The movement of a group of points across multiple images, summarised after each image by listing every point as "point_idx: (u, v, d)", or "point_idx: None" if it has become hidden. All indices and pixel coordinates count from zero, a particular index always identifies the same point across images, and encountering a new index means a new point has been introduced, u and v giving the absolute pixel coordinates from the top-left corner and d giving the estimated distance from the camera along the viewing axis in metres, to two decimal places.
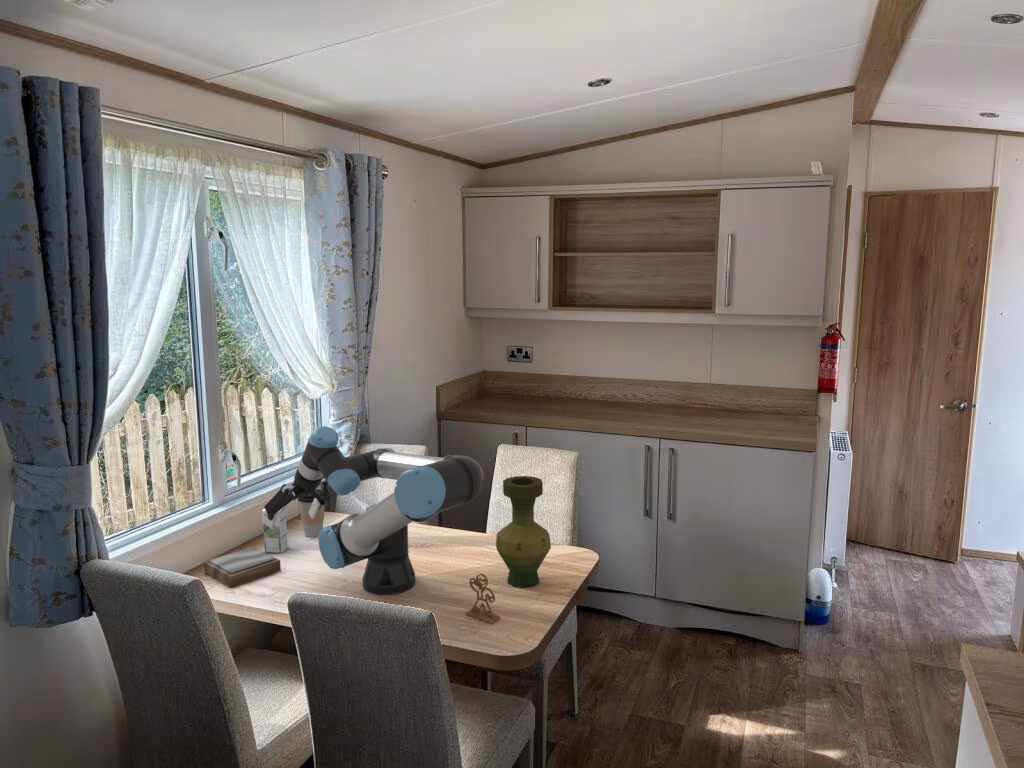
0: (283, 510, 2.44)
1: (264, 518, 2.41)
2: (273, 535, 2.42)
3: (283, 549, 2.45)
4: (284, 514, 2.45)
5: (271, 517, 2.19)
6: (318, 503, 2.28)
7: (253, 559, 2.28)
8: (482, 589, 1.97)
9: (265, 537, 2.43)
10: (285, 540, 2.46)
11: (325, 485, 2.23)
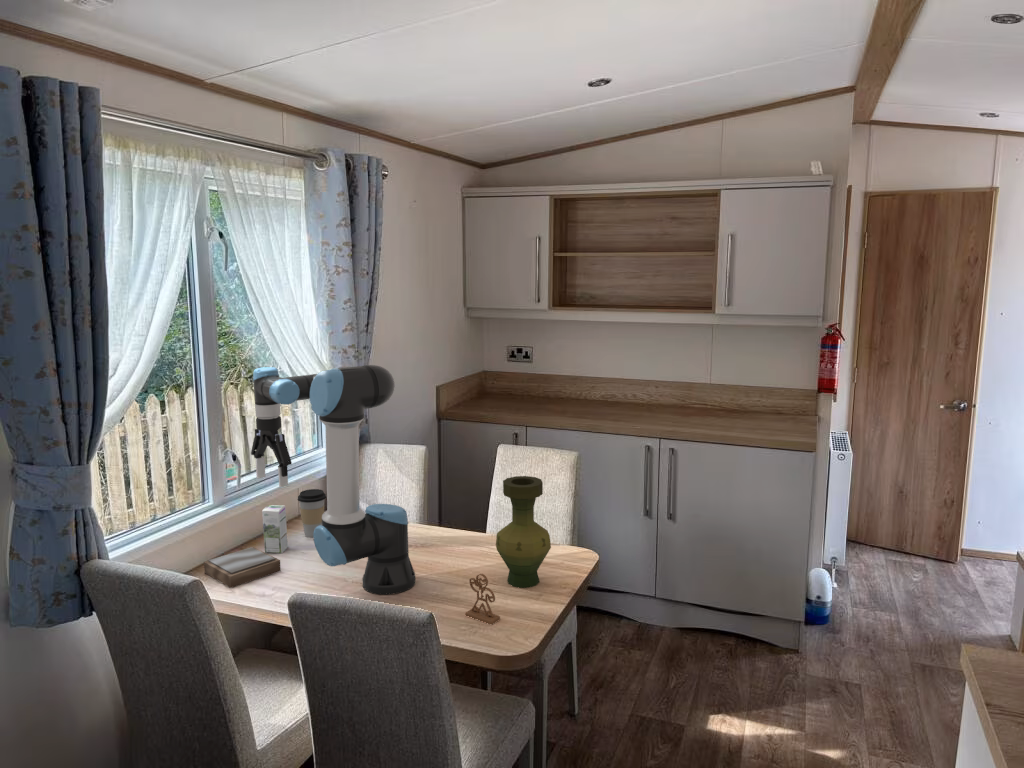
0: (283, 510, 2.44)
1: (264, 518, 2.41)
2: (273, 535, 2.42)
3: (283, 549, 2.45)
4: (284, 514, 2.45)
5: None
6: None
7: (253, 559, 2.28)
8: (482, 589, 1.97)
9: (265, 537, 2.43)
10: (285, 540, 2.46)
11: (276, 439, 2.35)
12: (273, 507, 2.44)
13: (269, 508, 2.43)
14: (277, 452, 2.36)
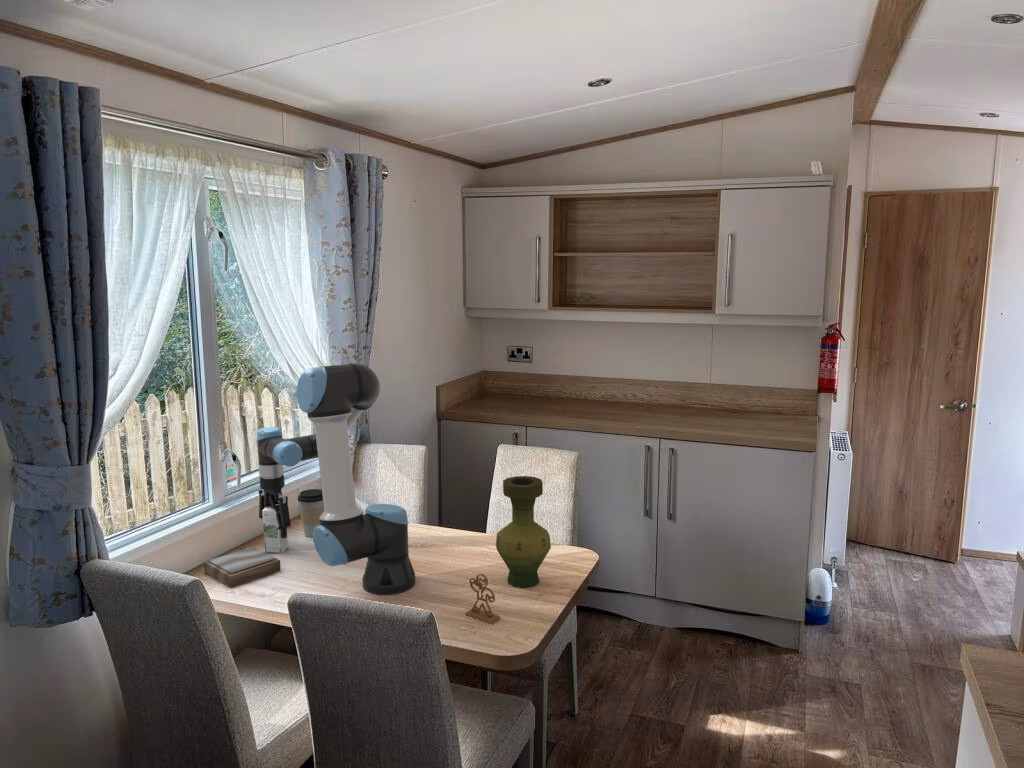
0: None
1: (264, 518, 2.41)
2: (273, 535, 2.42)
3: (283, 549, 2.45)
4: None
5: None
6: None
7: (253, 559, 2.28)
8: (482, 589, 1.97)
9: (265, 537, 2.43)
10: None
11: (279, 501, 2.38)
12: None
13: (269, 508, 2.43)
14: (278, 513, 2.40)
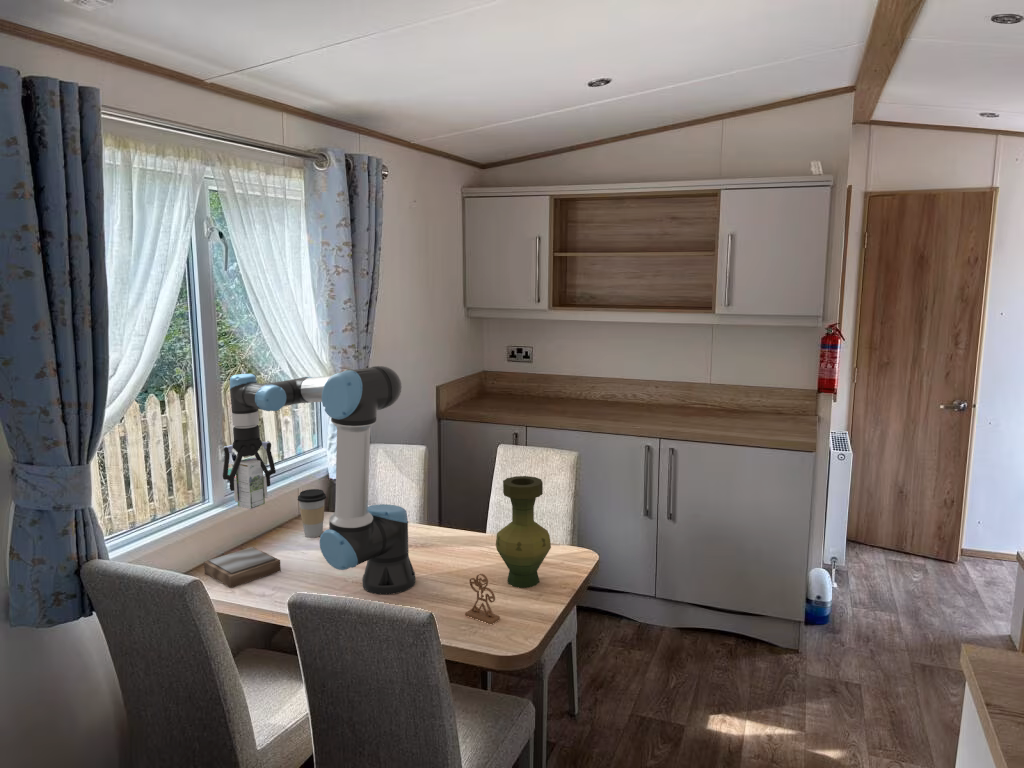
0: None
1: (250, 471, 2.27)
2: (258, 486, 2.30)
3: None
4: None
5: (231, 486, 2.28)
6: (264, 476, 2.32)
7: (253, 559, 2.28)
8: (482, 589, 1.97)
9: (251, 491, 2.28)
10: None
11: (268, 447, 2.30)
12: (248, 459, 2.30)
13: (248, 460, 2.28)
14: None
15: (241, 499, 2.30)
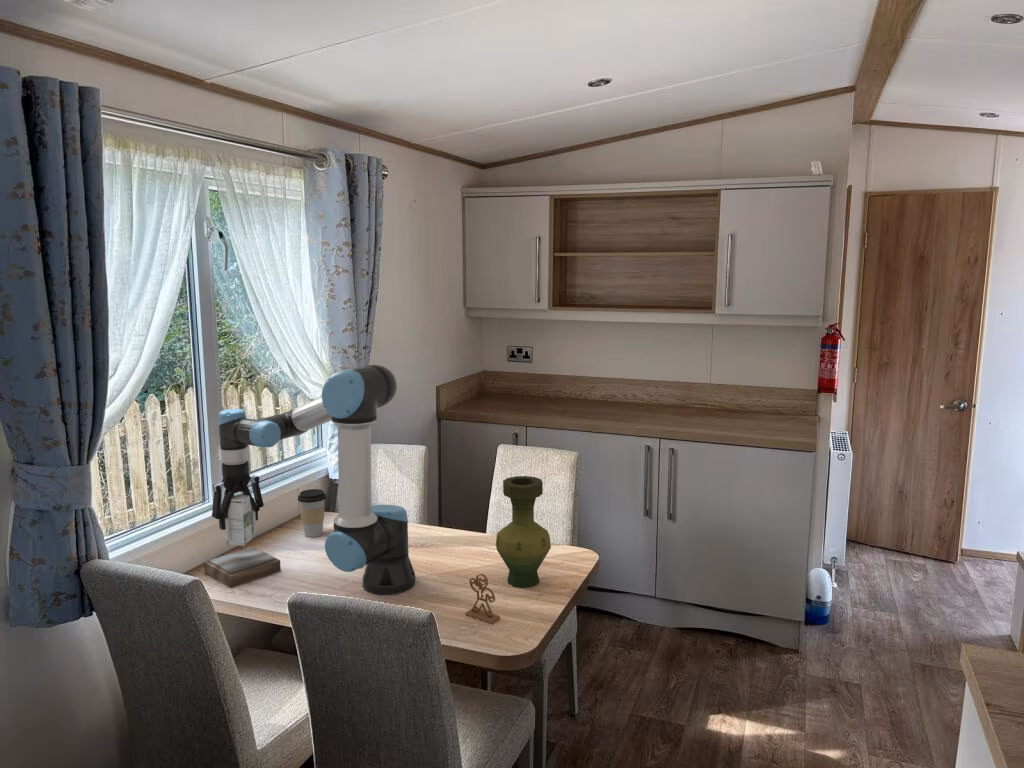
0: None
1: (244, 507, 2.23)
2: (249, 522, 2.27)
3: None
4: None
5: (223, 525, 2.22)
6: (253, 511, 2.29)
7: (253, 559, 2.28)
8: (482, 589, 1.97)
9: (245, 528, 2.24)
10: None
11: (257, 481, 2.28)
12: (237, 496, 2.25)
13: (238, 497, 2.24)
14: None
15: (231, 536, 2.24)
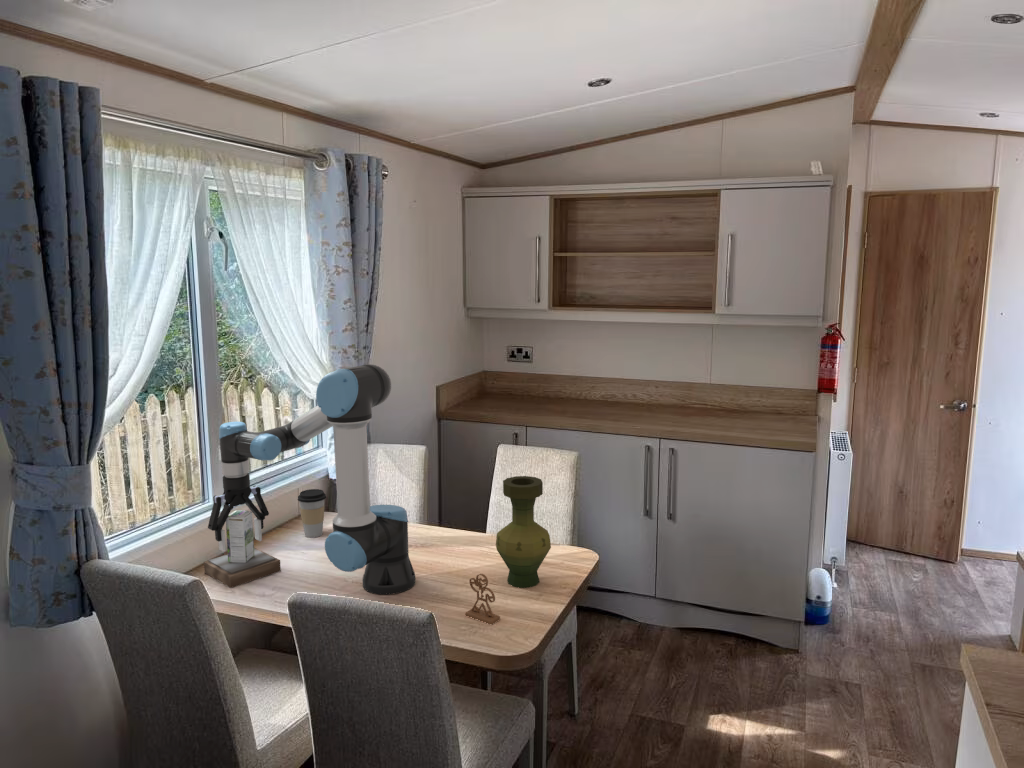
0: None
1: (245, 524, 2.24)
2: (250, 539, 2.27)
3: None
4: None
5: (219, 537, 2.21)
6: (258, 520, 2.30)
7: (253, 559, 2.28)
8: (482, 589, 1.97)
9: (246, 545, 2.25)
10: None
11: (258, 491, 2.29)
12: (238, 513, 2.26)
13: (240, 514, 2.25)
14: None
15: (233, 554, 2.25)
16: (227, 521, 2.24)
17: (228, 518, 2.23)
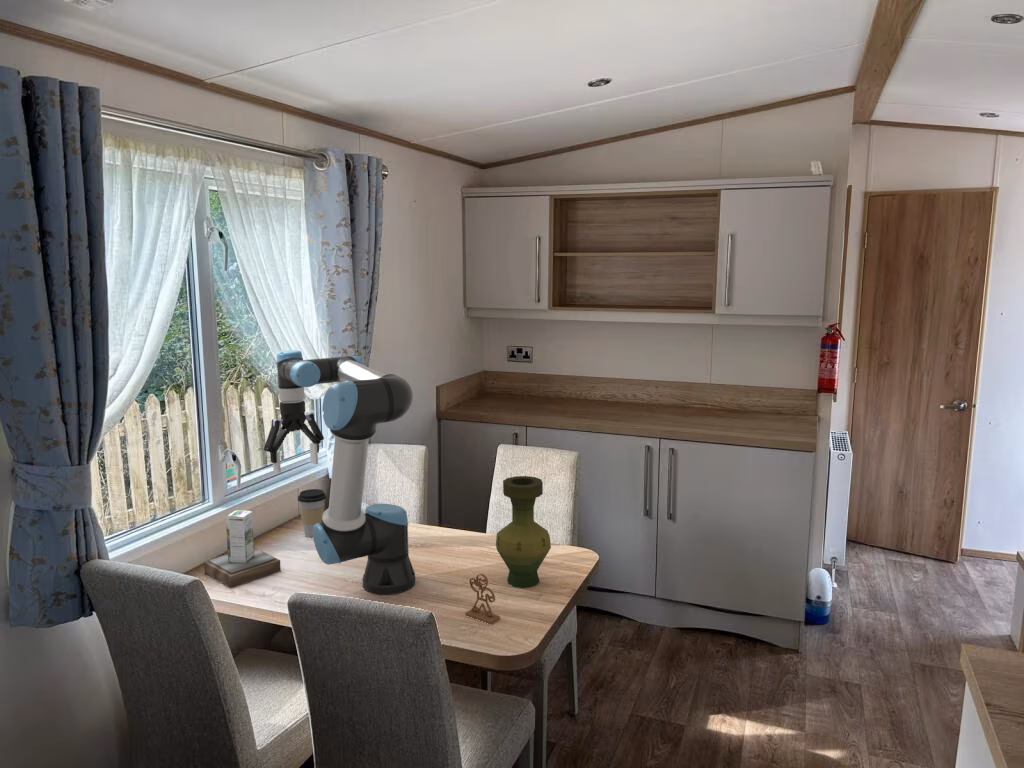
0: None
1: (245, 524, 2.24)
2: (250, 539, 2.28)
3: None
4: None
5: (274, 458, 2.29)
6: (314, 443, 2.40)
7: (253, 559, 2.28)
8: (482, 589, 1.97)
9: (246, 545, 2.25)
10: None
11: (312, 417, 2.38)
12: (238, 513, 2.26)
13: (240, 514, 2.25)
14: None
15: (233, 554, 2.25)
16: (227, 521, 2.24)
17: (228, 518, 2.24)
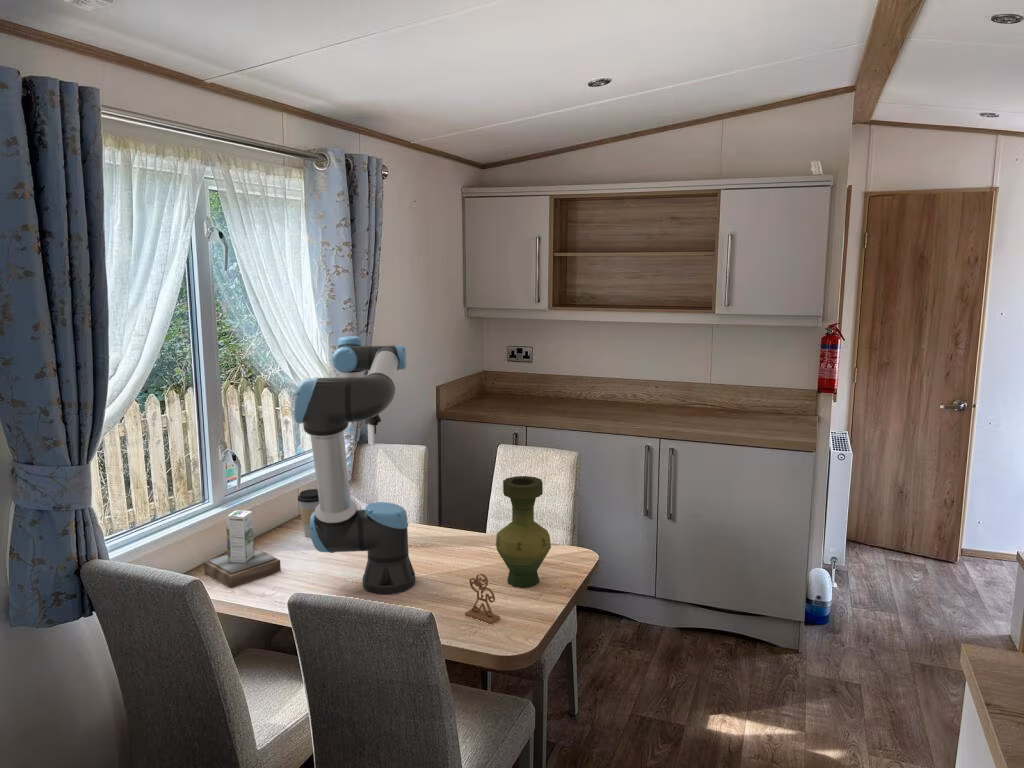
0: None
1: (245, 524, 2.24)
2: (250, 539, 2.28)
3: None
4: None
5: None
6: (372, 425, 2.52)
7: (253, 559, 2.28)
8: (482, 589, 1.97)
9: (246, 545, 2.25)
10: None
11: None
12: (238, 513, 2.26)
13: (240, 514, 2.25)
14: None
15: (233, 554, 2.25)
16: (227, 521, 2.24)
17: (228, 518, 2.24)
